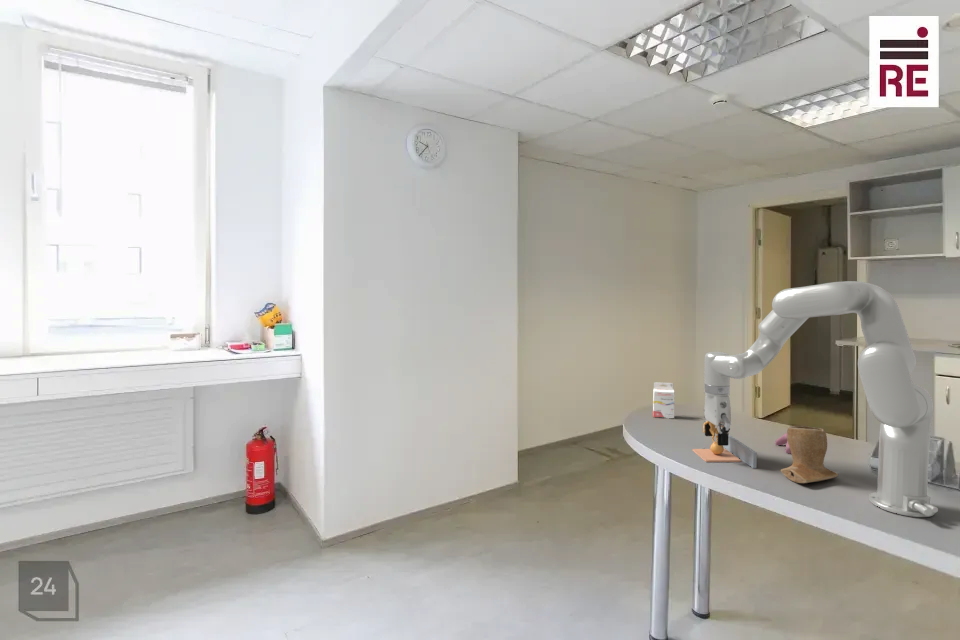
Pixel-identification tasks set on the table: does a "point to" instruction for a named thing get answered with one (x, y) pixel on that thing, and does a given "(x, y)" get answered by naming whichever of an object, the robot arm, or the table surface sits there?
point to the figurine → (714, 446)
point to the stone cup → (807, 455)
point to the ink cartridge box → (663, 400)
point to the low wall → (742, 451)
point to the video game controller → (783, 442)
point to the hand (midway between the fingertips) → (716, 440)
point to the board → (716, 456)
